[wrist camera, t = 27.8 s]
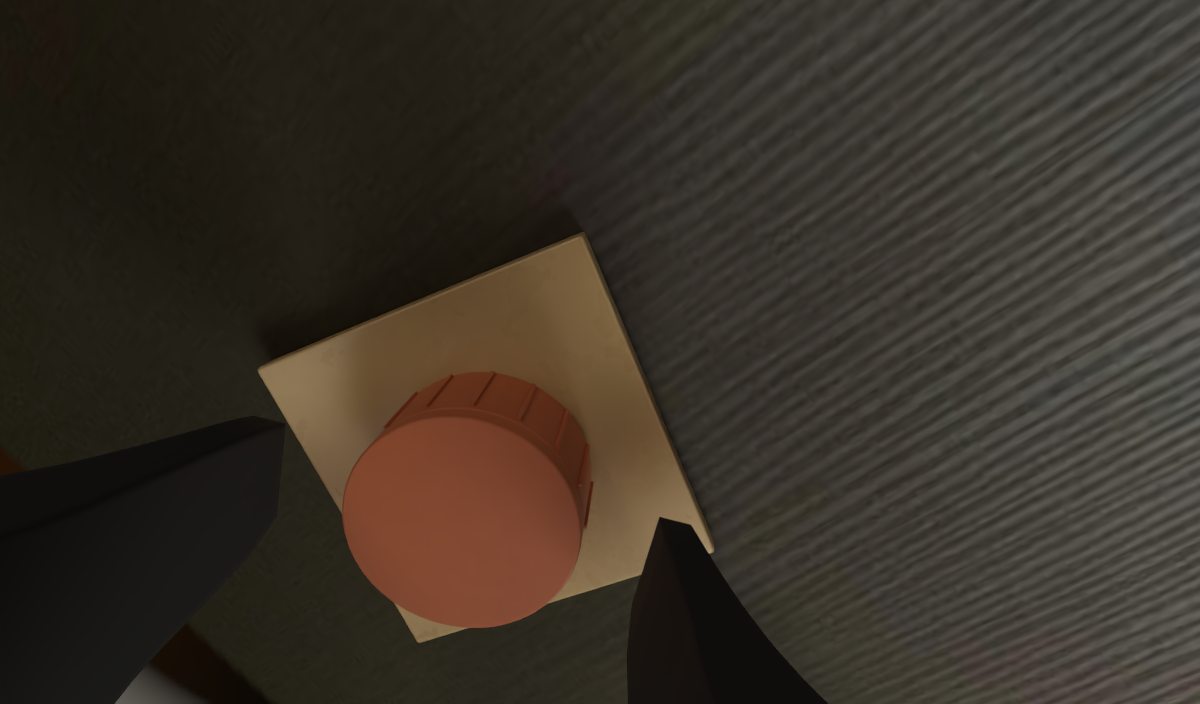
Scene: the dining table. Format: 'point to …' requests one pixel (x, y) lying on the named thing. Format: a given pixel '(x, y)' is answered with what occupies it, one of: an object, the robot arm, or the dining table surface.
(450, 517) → the flask cap
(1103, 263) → the dining table surface
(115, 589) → the robot arm
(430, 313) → the coaster
